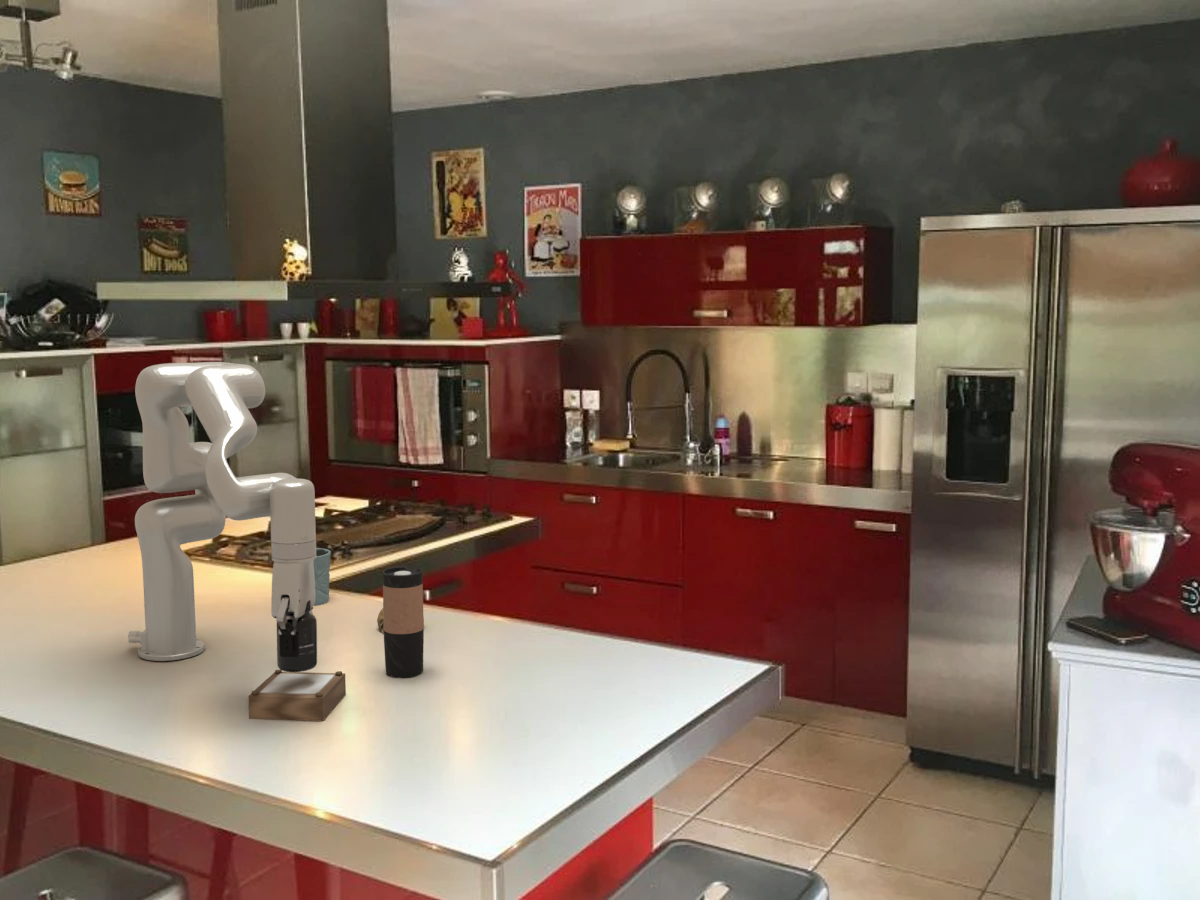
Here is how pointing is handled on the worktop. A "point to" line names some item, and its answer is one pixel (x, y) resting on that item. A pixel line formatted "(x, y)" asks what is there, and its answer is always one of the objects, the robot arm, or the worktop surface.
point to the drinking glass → (321, 576)
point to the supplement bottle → (301, 644)
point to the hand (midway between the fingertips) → (297, 649)
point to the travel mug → (403, 621)
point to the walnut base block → (297, 696)
